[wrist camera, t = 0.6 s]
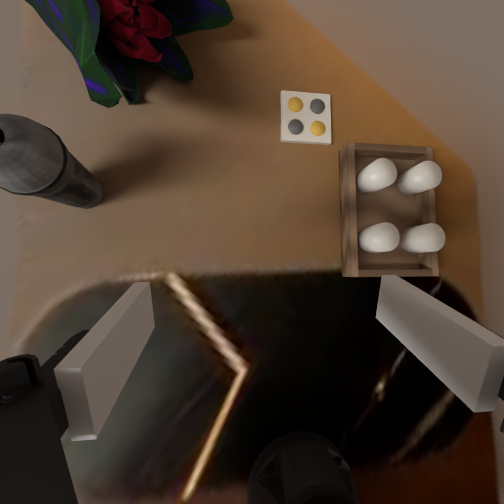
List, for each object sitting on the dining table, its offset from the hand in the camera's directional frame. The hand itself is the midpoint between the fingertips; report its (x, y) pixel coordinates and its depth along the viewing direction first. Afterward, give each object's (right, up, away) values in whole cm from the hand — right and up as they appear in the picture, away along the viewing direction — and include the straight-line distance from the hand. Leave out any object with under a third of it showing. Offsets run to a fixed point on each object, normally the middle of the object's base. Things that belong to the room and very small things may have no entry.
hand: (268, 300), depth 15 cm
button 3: (+17, +5, +25) cm, 30 cm away
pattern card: (+8, +24, +27) cm, 36 cm away
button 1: (+24, +5, +25) cm, 35 cm away
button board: (+20, +9, +27) cm, 35 cm away
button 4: (+17, +14, +25) cm, 33 cm away
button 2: (+24, +14, +26) cm, 38 cm away
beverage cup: (-24, +11, +22) cm, 34 cm away
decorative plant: (-16, +31, +24) cm, 43 cm away
